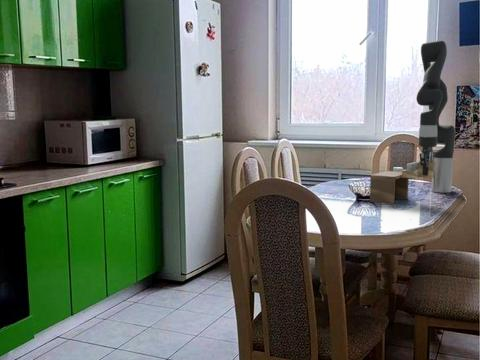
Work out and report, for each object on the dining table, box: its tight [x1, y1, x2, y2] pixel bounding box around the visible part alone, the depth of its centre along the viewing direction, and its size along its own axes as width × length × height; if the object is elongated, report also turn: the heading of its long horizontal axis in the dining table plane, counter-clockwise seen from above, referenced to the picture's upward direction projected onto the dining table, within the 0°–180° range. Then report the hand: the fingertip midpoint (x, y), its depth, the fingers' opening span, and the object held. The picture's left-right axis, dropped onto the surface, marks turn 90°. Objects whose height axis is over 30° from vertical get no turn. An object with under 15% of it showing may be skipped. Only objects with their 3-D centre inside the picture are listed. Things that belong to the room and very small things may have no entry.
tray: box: [401, 160, 435, 179], centre depth 241 cm, size 12×12×7 cm
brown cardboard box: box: [369, 170, 410, 205], centre depth 250 cm, size 18×11×12 cm, turn 143°
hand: (426, 174), depth 240 cm, fingers closed on tray, 3 cm apart
